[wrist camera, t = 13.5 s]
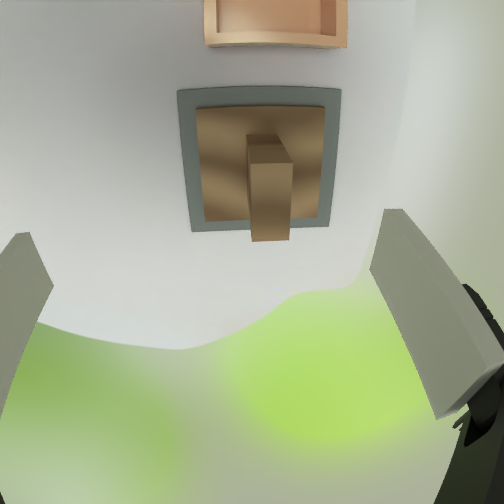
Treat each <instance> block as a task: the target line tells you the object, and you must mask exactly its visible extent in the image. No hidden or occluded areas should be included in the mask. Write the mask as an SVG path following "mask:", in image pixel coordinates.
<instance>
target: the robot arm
mask: <svg viewBox="0 0 504 504" xmlns="http://www.w3.org/2000/svg"><path fill="white" fill-rule="evenodd" d="M370 271H371V273H372V275H373V277H374V279H375V281H376V283H377V285H378V287H379V289H380V291H381V293H382V295H383V297H384V299H385V301H386V303H387V305H388V307H389V309H390V311H391V313H392V315H393V318H394V320H395V322H396V324H397V326H398V328H399V330H400V333H401V335H402V337H403V339H404V341H405V344H406V346H407V348H408V350H409V353H410V355H411V357H412V359H413V362H414V364H415V367H416V369H417V371H418V374H419V376H420V379H421V381H422V384H423V386H424V389H425V391H426V394H427V396H428V399H429V401H430V404H431V407H432V409H433V412H434V415H435V417H436V420H438V419H441V418H444V417H446V416H449V415H451V414H454V413H456V412H457V411H459V410H460V409H461V408H462V407H463V406H464V405H465V404H466V403H467V404H468V407H469V410H468V411H467V412H466V413H465V414H464V415H463V416H462V417H460V418H459V419H458V420H457V421H456V422H455V424H454V425H453V428H454V429H455V428H457V427H458V426H459V425H460V424H461V423H463V425H462V427H461V428H460V429H459V430H460V431H461V432H460V435H459V438H458V441H457V444H456V448H455V451H454V454H453V456H452V459H451V462H450V465H449V468H448V470H447V473H446V475H445V478H444V480H443V483H442V485H441V488H440V490H439V493H438V495H437V497H436V499H435V502H434V504H504V333H503V331H502V329H501V328H500V326H499V325H498V323H497V321H496V320H495V319H493V315H492V314H491V312H490V311H489V309H487V306H486V305H485V303H484V302H483V300H482V299H481V297H480V296H479V294H478V293H476V292H475V291H474V290H473V289H472V288H471V287H470V286H468V285H467V284H461V283H460V281H459V280H458V279H457V277H456V276H455V275H454V273H453V272H452V270H451V269H450V268H449V266H448V265H447V264H446V262H445V261H444V260H443V258H442V257H441V256H440V254H439V253H438V252H437V250H436V249H435V248H434V247H433V245H432V244H431V243H430V241H429V240H428V239H427V238H426V237H425V235H424V234H423V233H422V232H421V230H420V229H419V228H418V227H417V226H416V225H415V223H414V222H413V221H412V220H411V218H410V217H409V216H408V215H407V214H406V213H405V211H404V210H403V209H384V213H383V217H382V222H381V226H380V230H379V234H378V239H377V243H376V247H375V251H374V254H373V258H372V262H371V266H370ZM53 287H54V285H53V283H52V281H51V279H50V277H49V275H48V273H47V271H46V269H45V267H44V264H43V262H42V260H41V258H40V256H39V254H38V251H37V249H36V247H35V244H34V242H33V240H32V237H31V235H30V232H25V233H18V234H16V235H15V236H14V237H13V238H12V240H11V241H10V242H9V243H8V245H7V246H6V247H5V249H4V250H3V251H2V253H1V254H0V418H1V415H2V412H3V408H4V405H5V402H6V399H7V395H8V393H9V390H10V387H11V383H12V381H13V378H14V375H15V372H16V370H17V367H18V364H19V362H20V359H21V357H22V354H23V352H24V349H25V347H26V344H27V342H28V340H29V337H30V335H31V333H32V330H33V328H34V326H35V324H36V322H37V319H38V317H39V315H40V313H41V311H42V309H43V307H44V305H45V303H46V300H47V298H48V296H49V294H50V292H51V291H52V289H53ZM0 504H5V502H4V500H3V497H2V495H1V493H0Z"/></svg>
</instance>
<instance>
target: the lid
mask: <svg viewBox="0 0 504 504" xmlns="http://www.w3.org/2000/svg"><path fill="white" fill-rule="evenodd" d="M196 122H197V136H198V149H199V161H200V172H201V183H202V194H203V204H204V214H205V222H213V221H235V220H250V227H251V237H252V242H256V241H280V240H289V233H290V218H317V212H318V201H319V191H320V179H321V167H322V154H323V140H324V124H325V107H323V106H312V105H232V106H213V107H199V108H196Z"/></svg>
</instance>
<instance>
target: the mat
mask: <svg viewBox="0 0 504 504" xmlns="http://www.w3.org/2000/svg"><path fill="white" fill-rule="evenodd" d="M177 100H178V113H179V124H180V135H181V146H182V156H183V165H184V174H185V183H186V192H187V200H188V208H189V216H190V223H191V231H192V232H206V231H227V230H249V229H251V227H250V220H235V221H213V222H205V214H204V204H203V194H202V183H201V172H200V161H199V149H198V136H197V122H196V108H199V107H213V106H232V105H312V106H323V107H325V124H324V140H323V154H322V167H321V179H320V191H319V201H318V212H317V218H290V228H303V227H329V221H330V213H331V205H332V197H333V188H334V179H335V169H336V158H337V147H338V135H339V122H340V107H341V90H340V89H330V88H315V87H293V86H241V87H219V88H204V89H192V90H181V91H177Z"/></svg>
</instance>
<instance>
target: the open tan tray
mask: <svg viewBox="0 0 504 504" xmlns="http://www.w3.org/2000/svg"><path fill="white" fill-rule="evenodd" d="M203 6H204V42H205V45H206V46H208V47H222V46H254V45H264V46H297V47H312V48H323V49H337V48H347V0H203Z"/></svg>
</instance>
